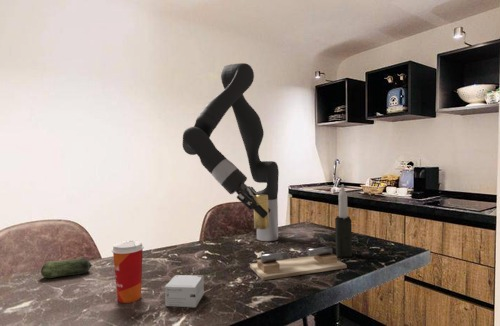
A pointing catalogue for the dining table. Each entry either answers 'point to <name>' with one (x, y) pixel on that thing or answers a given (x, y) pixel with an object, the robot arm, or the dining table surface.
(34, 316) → the dining table surface
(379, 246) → the dining table surface
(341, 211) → the black and grey bottle
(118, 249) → the paper cup
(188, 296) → the small box
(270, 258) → the shafts
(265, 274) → the shaft bench
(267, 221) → the cylinder
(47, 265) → the vegetable
